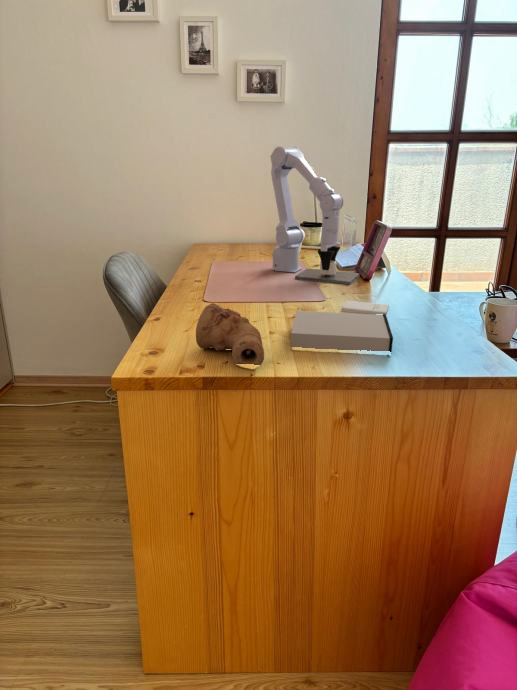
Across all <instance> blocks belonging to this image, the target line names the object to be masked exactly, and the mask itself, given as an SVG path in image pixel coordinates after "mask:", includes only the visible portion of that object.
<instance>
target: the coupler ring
mask: <svg viewBox="0 0 517 690" xmlns="http://www.w3.org/2000/svg"><path fill="white" fill-rule="evenodd" d="M337 264H338V263H337V261H336V260H335V261H331V262H330V267H329V270H323V269H322V264H321V261H320V263H319V270H320V273H321V274H325V275H333V274H336V271H337Z"/></svg>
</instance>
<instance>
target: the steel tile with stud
mask: <svg viewBox="0 0 517 690" xmlns="http://www.w3.org/2000/svg"><path fill="white" fill-rule="evenodd" d="M359 277H360V273H358V272H347V271H339V270H336V274H333V275H325V274H321V273H320V269H317V268H306V269H304V270H302V271H301V272H299V273H298V274H296V275H295V276H294V280H302V281H310V282H311V281H312V282H319V283H320V282H322V283H329V284H331V283H333V284H339V285H340V284H341V285H352V284H353V283H354V282H356V280H357V279H358V278H359Z"/></svg>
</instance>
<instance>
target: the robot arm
mask: <svg viewBox="0 0 517 690" xmlns="http://www.w3.org/2000/svg"><path fill="white" fill-rule="evenodd" d="M304 155H305V154H304V153H303V152H301V150H300V149H299V148H298V147H297V146H292V147H290V146H289V147H287V146H277V147H275V148H274V149H273V150H272V153H271V155H270V156H269V157H270V162H271V171H270V174H271V181H272V186H273V192H274V198H275V203H276V207H277V214H278V218H279V223H278V224H277V226H276V228H275V232H276V234H275V241H276V243H277V245H276V246H275V247H274V248H273V252H272V268H271V270H272V271H274V270H275V271H276V272H287V273H296V272H299V271H300V270H302V267H301V266H299V261H300V260H299V258H300V257H299V254H300V252H299V246H300V243H301V242H302V241H303V242H304V240H303V232H302V230H303V229H302V228H301V226H300V223H299V222H298V221H297V220H296V219H295V214H294V210H293V203H292V199H291V192H290V186H289V182H288V181H289V180H288V175H289V174H290V172H291V171H292V170H293V169H296V171H297V172H298V173H299V174H300V175H301V176H302V177H303V178H304V179H305V180H306V182H308V184H309V186H308V188H309V190H310V191H311V192H312V194H313V195H314V196H315V198H316V199H317V200H318V201H319V207H320V210H321V215H322V223H321V242H320V248H319V249H317V254H318V256H319V259H320V262H321V264H322V269H323V270H329V267H330V262H331V261H336V258H337V256H338V254H339V251H340V249H341V245H342V243H341V242H339V226H340V225H339V224H340V210H341V209H342V208H343V207H344V206H343V205H344V198H343V197H342V195H341V194H340V193H337V192H335V189H333V188H332V187H331V186H330V185H329V184H328V183H327V179H326V178H325V177H324V178H323V177H321V176H317V175H316V173H315V171H314V170H313V169H312V167H311V166H310V164H309V163H308V162H307V160H306V159H305V157H304ZM301 229H302V230H301ZM303 242H302V243H303Z"/></svg>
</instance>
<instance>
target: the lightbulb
mask: <svg viewBox="0 0 517 690" xmlns="http://www.w3.org/2000/svg"><path fill="white" fill-rule="evenodd" d="M300 229H301V230H302V232H303V241H302V242H301V243H300V246H299V253H301V249H302V243H303V242H304V240H305V237H306V233H305V231H304V229H302V228H300Z"/></svg>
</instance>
